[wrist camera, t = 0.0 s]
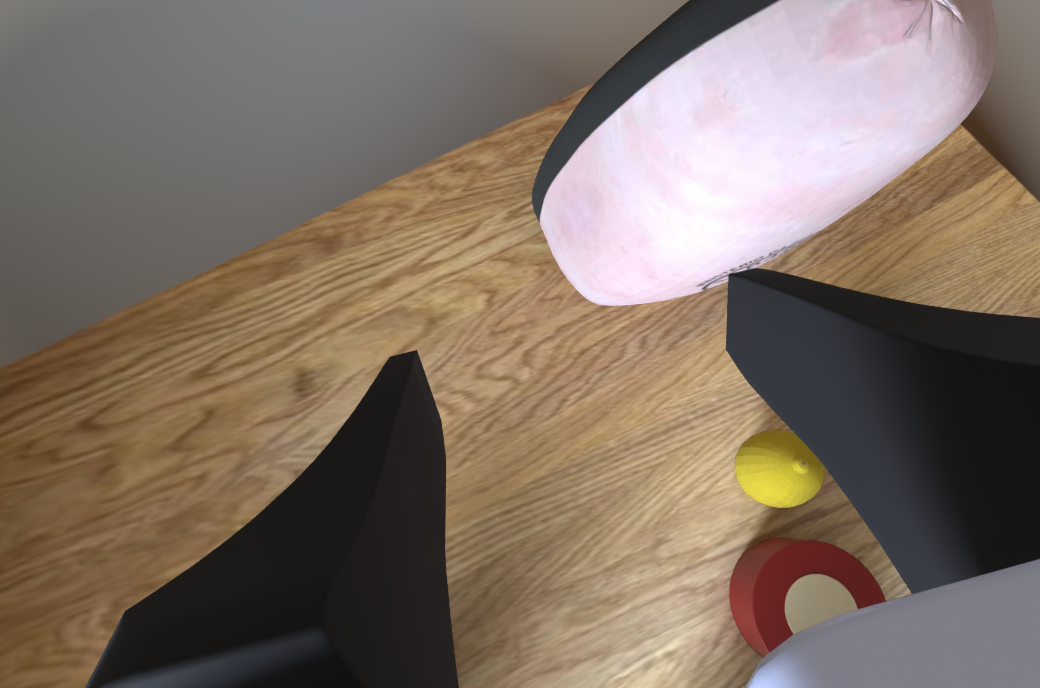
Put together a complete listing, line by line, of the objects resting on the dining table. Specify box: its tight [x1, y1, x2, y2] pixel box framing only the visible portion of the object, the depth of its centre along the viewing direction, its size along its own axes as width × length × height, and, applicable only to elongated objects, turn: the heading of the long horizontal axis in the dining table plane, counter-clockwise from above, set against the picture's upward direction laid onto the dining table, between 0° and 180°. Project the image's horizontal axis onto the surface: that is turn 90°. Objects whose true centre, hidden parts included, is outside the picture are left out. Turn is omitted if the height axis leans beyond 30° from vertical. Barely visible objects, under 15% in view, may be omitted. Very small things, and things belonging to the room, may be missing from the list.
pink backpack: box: [532, 0, 997, 305], centre depth 34 cm, size 22×20×30 cm
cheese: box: [730, 537, 886, 657], centre depth 37 cm, size 9×9×5 cm
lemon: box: [734, 430, 825, 508], centre depth 38 cm, size 6×6×8 cm
